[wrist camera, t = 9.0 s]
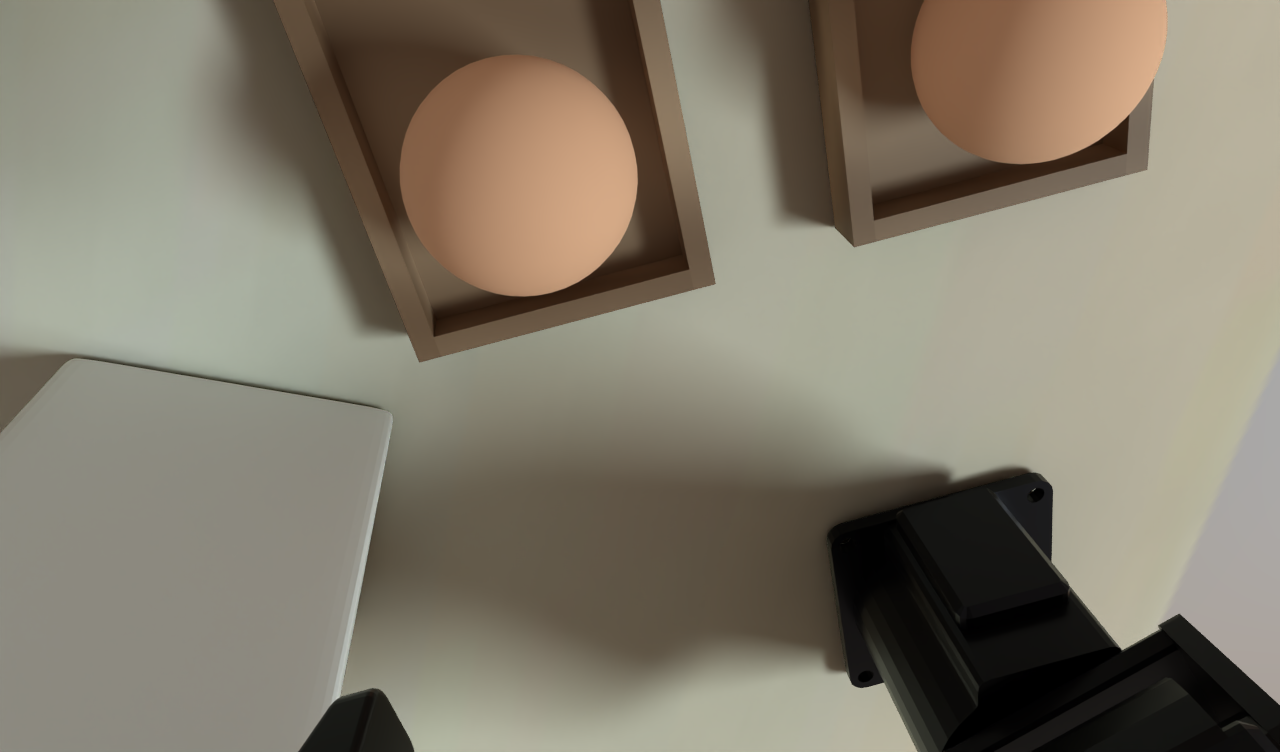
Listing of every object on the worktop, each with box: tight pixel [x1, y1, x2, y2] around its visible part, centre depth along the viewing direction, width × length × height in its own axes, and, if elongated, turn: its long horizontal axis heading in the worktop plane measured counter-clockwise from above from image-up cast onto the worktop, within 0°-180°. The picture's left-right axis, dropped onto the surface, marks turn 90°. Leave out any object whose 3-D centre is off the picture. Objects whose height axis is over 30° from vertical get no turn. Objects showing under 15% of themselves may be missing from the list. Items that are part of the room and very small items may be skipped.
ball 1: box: [400, 55, 638, 296], centre depth 17 cm, size 4×4×4 cm
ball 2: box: [911, 0, 1167, 164], centre depth 17 cm, size 4×4×4 cm
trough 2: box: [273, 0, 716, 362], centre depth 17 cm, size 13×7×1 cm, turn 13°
